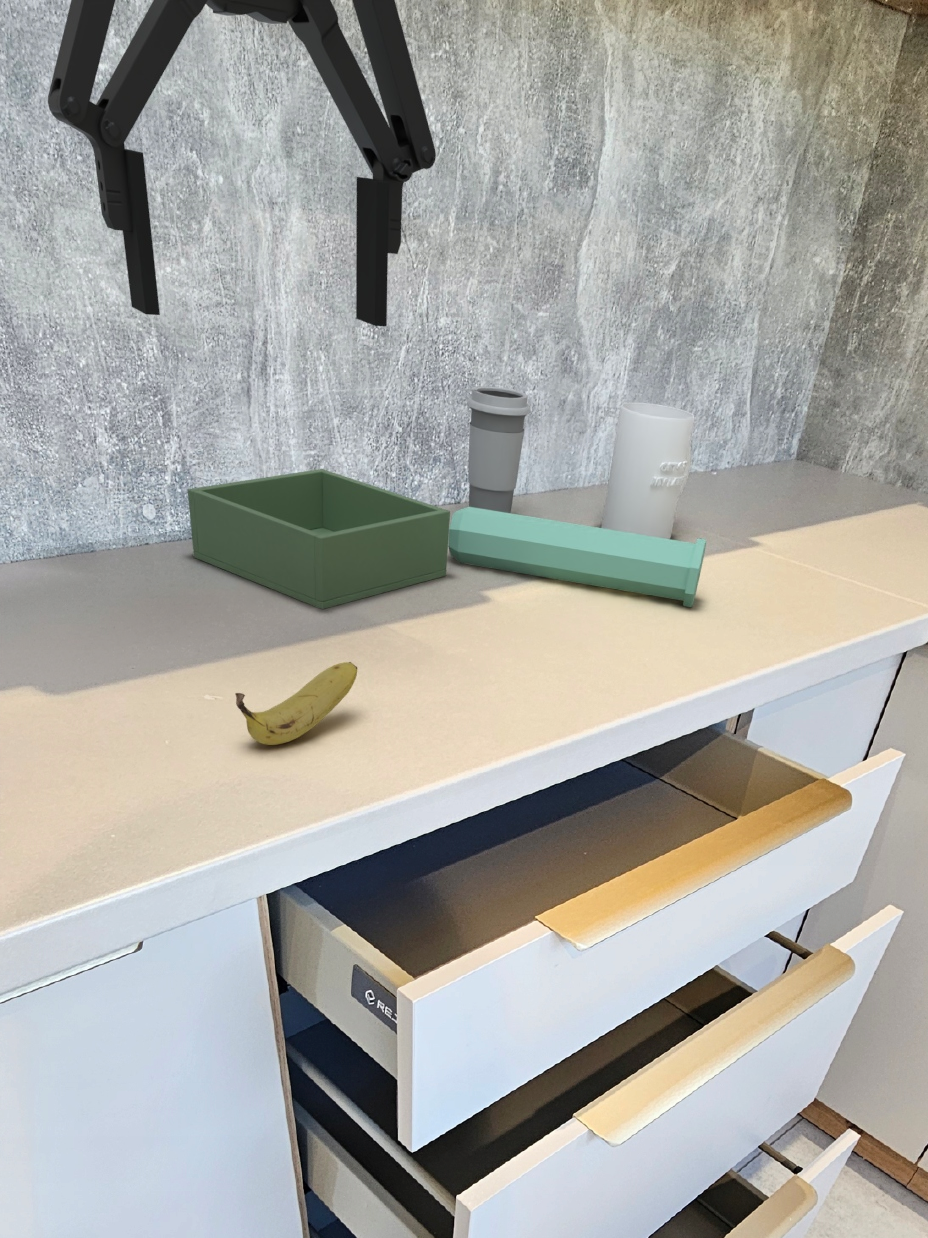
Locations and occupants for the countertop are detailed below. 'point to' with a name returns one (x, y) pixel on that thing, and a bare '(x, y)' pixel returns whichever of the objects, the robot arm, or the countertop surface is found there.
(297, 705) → the banana
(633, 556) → the container
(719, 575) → the countertop surface
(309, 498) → the bin
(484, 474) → the cup
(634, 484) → the mug
